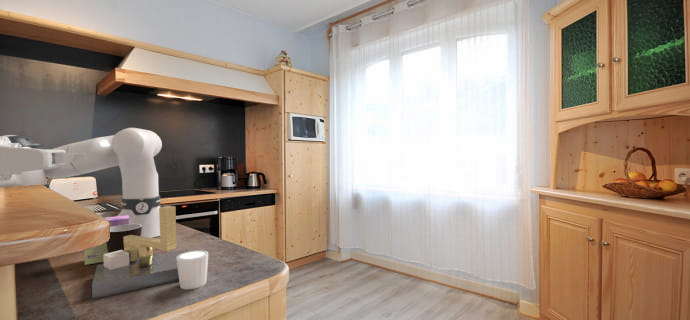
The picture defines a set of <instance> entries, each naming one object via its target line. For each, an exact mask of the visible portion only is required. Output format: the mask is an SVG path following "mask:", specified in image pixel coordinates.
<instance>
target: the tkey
mask: <svg viewBox="0 0 690 320" xmlns="http://www.w3.org/2000/svg"><path fill="white" fill-rule="evenodd" d="M176 210H177V207H176V206H173V205H165V206H160V208H159V218H160V236H159V237H160V238H156V237H153V238H148V237H142V236H135V235H128V236H124V237H123V239H124V251H126V252H128V253H129V261H130V262H132V261H134V260H137V259H138V253H139V265H140V266H146V265H150V264H152V263H153V255H154V249H158V250H160V251H161V250H162V251H167V252H168V251H171V250H174V249H176V248H178V247H177V245H178V244H177V221H176V220H177V217H176V216H177V215H176V214H177V213H176ZM137 245H139V246H138V247H137Z"/></svg>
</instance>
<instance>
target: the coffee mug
mask: <svg viewBox="0 0 690 320" xmlns="http://www.w3.org/2000/svg"><path fill="white" fill-rule="evenodd" d="M141 230H142V225H141V224H124V225H117V226H112V227H110V239H109V241H108V242H106V244H107V250H108V253H111V252H115V251H120V250H124V239H123V237H124V236H128V235H135V236H141ZM138 246H139V245H137V247H138ZM138 258H139V253H138Z"/></svg>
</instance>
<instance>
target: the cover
mask: <svg viewBox="0 0 690 320" xmlns="http://www.w3.org/2000/svg"><path fill="white" fill-rule="evenodd" d="M103 258H104V262H103V264H104V267H106V268H108V269H110V270H112V269H116V268H119V267H123V266H126V265H129V253H128V252H126V251H124V250H120V251H115V252H111V253H107V254H103Z"/></svg>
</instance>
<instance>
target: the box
mask: <svg viewBox="0 0 690 320" xmlns="http://www.w3.org/2000/svg"><path fill="white" fill-rule="evenodd" d="M104 218H105V219H106V220H108V221H109V223H110V227H112V226H117V225H124V224H129V215H125V216H117V215H115V216H107V217H104ZM83 253H84V254H83V255H84V266H88V265H91V264H97V263H104V258H103V254H107V253H108V250H107V244H106V243H104V244H102V245H100V246H97V247H95V248H91V249H88V250H85V251H84V250H83Z"/></svg>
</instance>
